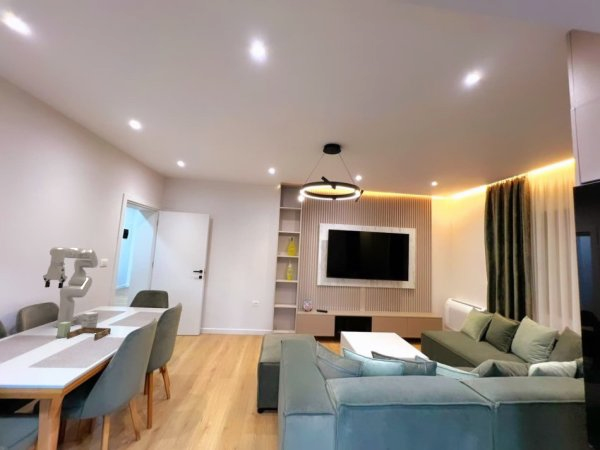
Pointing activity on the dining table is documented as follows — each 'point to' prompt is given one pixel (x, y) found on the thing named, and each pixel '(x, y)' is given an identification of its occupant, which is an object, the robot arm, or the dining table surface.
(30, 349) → the dining table surface
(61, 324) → the sage block
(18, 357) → the dining table surface
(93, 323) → the supplement box
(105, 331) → the wooden u-shaped frame
